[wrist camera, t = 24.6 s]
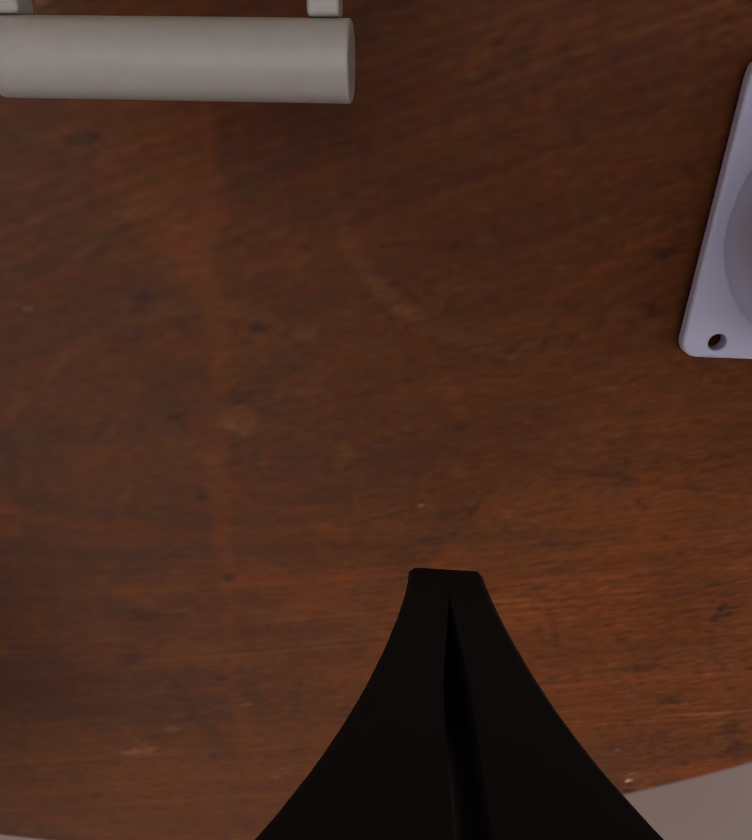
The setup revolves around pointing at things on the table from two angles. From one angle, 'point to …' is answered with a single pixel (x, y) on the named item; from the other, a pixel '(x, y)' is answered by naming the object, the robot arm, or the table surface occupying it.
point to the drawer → (178, 56)
